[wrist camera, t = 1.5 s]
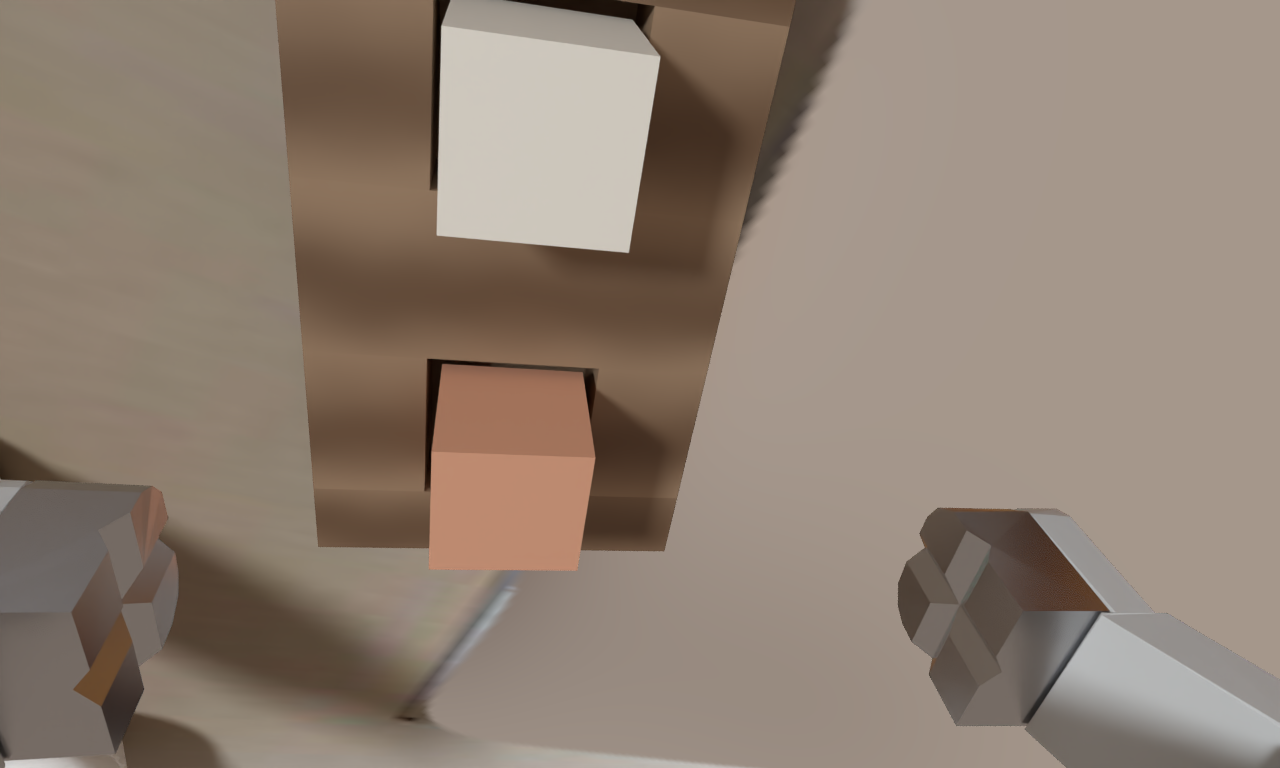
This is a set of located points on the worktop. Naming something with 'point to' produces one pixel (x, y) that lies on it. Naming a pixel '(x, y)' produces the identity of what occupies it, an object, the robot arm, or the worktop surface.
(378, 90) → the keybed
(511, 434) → the terracotta key
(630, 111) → the cream key
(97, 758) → the muffin
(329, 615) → the worktop surface
